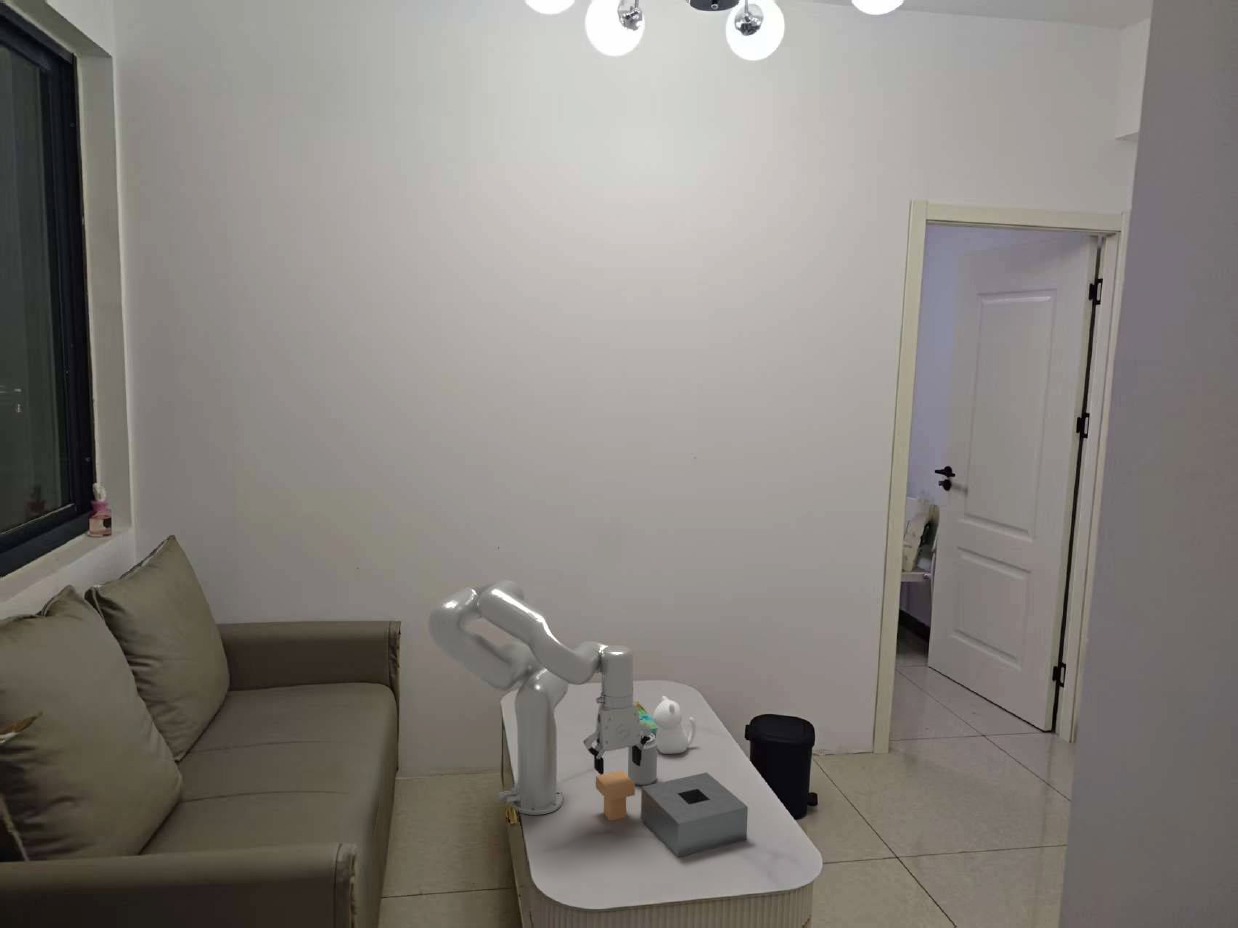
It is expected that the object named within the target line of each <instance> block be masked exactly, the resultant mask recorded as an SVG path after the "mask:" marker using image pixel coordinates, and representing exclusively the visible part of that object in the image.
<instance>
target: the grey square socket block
mask: <svg viewBox="0 0 1238 928" xmlns="http://www.w3.org/2000/svg"><path fill="white" fill-rule="evenodd" d="M640 792H641V793H640V794H641V796H640V819H641V820H642V822H643V823H644V824H645V825H646V826H648V828H649V829H650V830H651V831H652V832H653V833H654V834H655V835H656V837H658V839H659V840H660V841H661V842H662V843H663V844H664V845H665V846H666V847H667V849H669V850H670V851H671V853H673V854H674V856H676V857H677V859H678V858H681V857H682V858H683V857H686V856H690V855H694V854H697V853H701V852H704V851H708V850H712V849H717V848H719V847H723V846H724V847H725V846H728V845H732V844H735V843H739V842H743V841H746V840H748V839H747V837H748V836H747V835H748V834H747V833H748V814H749V808H748V807H749V806H747V805H746V804H745V803H744V802H743V801H741V799H740V798H738V796H736V795H735V794H733V793H732V792H731V791H730V790H728V789H727V788H726V787H725V786H724V785H722V784H721V782H719V781H717V779H715V777H713V776H712V775H711V774H710V773H708V772H702V773H698V774H694V775H689V776H685V777H680V778H675V779H670V780H666V781H662V782H656V783H651V784H648V785H642V786H641V791H640Z"/></svg>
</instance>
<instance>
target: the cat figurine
mask: <svg viewBox="0 0 1238 928" xmlns="http://www.w3.org/2000/svg"><path fill="white" fill-rule="evenodd" d="M660 700H661V701H660V703H659V704H658V705H656V706H657V707H656V708H655V710H654V712H653V715H652V718H653V720H654V723H655V724H656V725H657V726H658V727H659V728H658V730H657V733H656V738H655V739H656V741H657V751H659V752H660V753H661V754H664V755H674V754H681V753H684V752H685V751H687V749H688V747H689V746H691V745H692V743H693V742H694V739H695V735H696V729H697V725H696V721H695V719H694V718H693V717H692V716H691V717H690V718H689V726H690V732H689V734H688V735H689V736H688V735H687V732H686V730H685V728H684V727H683V725H682V724H681V723H682V720H683V714H682V713H683V712H682V708H681V707H680V705H679V703H677V702H676V701H674V700H671V699H669V698H668V697H667V696H665V695H662V696H661V699H660Z"/></svg>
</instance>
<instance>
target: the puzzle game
mask: <svg viewBox="0 0 1238 928" xmlns="http://www.w3.org/2000/svg"><path fill="white" fill-rule="evenodd" d="M635 702H636V703H637V707H638V712H639V718H640V724H642V725H645V726H648V727H649V728H651V733H652V734H653V735H654V736H655V739H656V733H657V730H658V728H659V727H658V726H657V725H656V724H655V723H654V720H653V716H651V715H650V713H649V712H648V711H647V710H646V709H645V708H644V707H643V705H642V704H641V703H640V702H639V701H635ZM641 732H643V731H641Z"/></svg>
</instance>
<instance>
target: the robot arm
mask: <svg viewBox="0 0 1238 928" xmlns="http://www.w3.org/2000/svg"><path fill="white" fill-rule="evenodd" d="M479 619H484V620H485V621H487V622H488V623H490V624H492V625H494V626H495V627H496V628H498V629H500V630H502V631H503V632H505V633H507V634H508V635H510V636H512V637H513V638H514V639H517V640H518V641H511V642H510V641H509V642H506V643H504V644H503V645H502V646H498V645H495V644H494V642H493V643H492V642H491V641H490V640H488V638H486V637H485V636H483V635H481V634H479V633H477V632H473V631H470V629H469V630H468V629H467V628H466V626H468V625H469V624H472V623H473V622H474V621H475V620H479ZM427 625H428V626H427V627H428V633H429V635H430V638H431V641H432V642H433V644H434V646H436V648H438V650H440V652H442V653H443V654H445V655H446V656H447V657H449V658H450V659H452V660H454V661H455V662H457V663H458V664H460V665H461V666H463V667H464V668H465V669H466V670H468V671H469V672H470V673H471V674H473V675H474V676H476V678H479V680H481V681H482V682H483V683H485V684H487V686H489V687H491V688H492V689H494V690H496V691H498V692H507V691H509V690H511V689H512V688H514V687H515V686H516V685H517V684H518V683H519V684H521V686H520V687H519V688H518V690H517V692H516V694H515V698H514V712H515V718H516V726H517V727H516V728H517V731H516V732H517V733H516V734H517V739H516V740H517V741H516V742H517V782H516V783H513V788H512V787H511V788H510V790H503V791H499V792H498V794H497V796H498V800H499V801H500V802H501V801H505V800H506V804H511V807H513V810H515V811H517V812H519V813H521V814H525V815H528V816H529V815H532V816H539V815H540V816H541V815H547V814H549V813H553V812H555V811H556V810H558V809H559V808H560V807H561V806H562V804H563V801H564V800H563V794H562V793H561V791H559V790H558V789H557V770H558V769H557V765H558V764H557V763H558V762H557V758H558V757H557V756H558V755H557V754H558V753H557V752H558V750H557V749H558V744H557V743H558V742H557V741H558V737H557V736H558V734H557V724H556V718H555V710H556V708H557V707H558V705H559V704H560V703H561V702H562V700H564V698H565V697H566V695H567V693H568V691H569V684H572V685H574V686H575V685H576V686H581V685H585V684H587V683H588V682H590V681H591V680H592V679H593V677H594V676H595V675H597V674H600V676H601V677H600V680H601V681H600V683H601V684H600V685H601V688H600V696H599V697H596V699H595V701H596V704H599V705H598V709H597V715H596V721H595V722H596V725H595V731H594V732H593V733H592V734H590V735H588V737H586V738H585V739H584V740H583V745H584V746H585V748H586V750H587V751H588V752H589V753H590V755H593V757H594V758H593V761H594V762H593V768H594V770H595V771H596V772H597V773H598V774H599V775H603V774H605V770H604V763H605V762H604V761H605V760H604V758H603V755H604V754H605V752H612V751H616V750H617V751H618V750H622V749H626V748H628V747H631V746H633V747H632V761H633V762H634V763H635V764H636V765H637V766H640V760H642V749H643V748H644V744H645V743H646V742H647V741H648V736H649V735H650V733H651V728H649V727H648V726H645V725H642V724H640V718H639V712H638V707H637V703H636V702H637V701H634V653H633V651H632V649H631V648H630V647H628V646H624V645H621V644H620V645H617V644H615V645H610V644H606V643H605V644H604V643H602V642H599V641H594V640H593V641H592V640H585V641H583V642H581V643H580V644H578V645H577V646H576V647H575V648H574V649H571V648H569V647H567V645H564V644H563V643H562V642H560V641H559V640H558V639H557V638H556V637H555V636H554V634H553V633H552V632H551V630H550V626H549V621H548V617H547V615H546V614H545V613H544V612H543V611H541V610H539V609H538V608H536V607H534V606H533V605H531V604H530V603H527V602H526V601H525V594H524V591H523V588H522V587H521V586H520V584H518V583H517V582H515V581H513V580H510V579H500V580H496V581H490V582H488V583H483V584H478V585H473V586H468V587H464V588H462V589H459V590H457V591H456V592H455V593H452V594H450V595H448V596H447V597H445V598H444V599H442V600H440V601H439V602H438V603H437V604H436V605H434V606H433V608H432V610H431V611H430V613H429V616H428V621H427ZM519 641H520V642H519ZM641 731H643V734H642V735H641ZM594 742H596V745H595V747H593V743H594Z"/></svg>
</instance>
